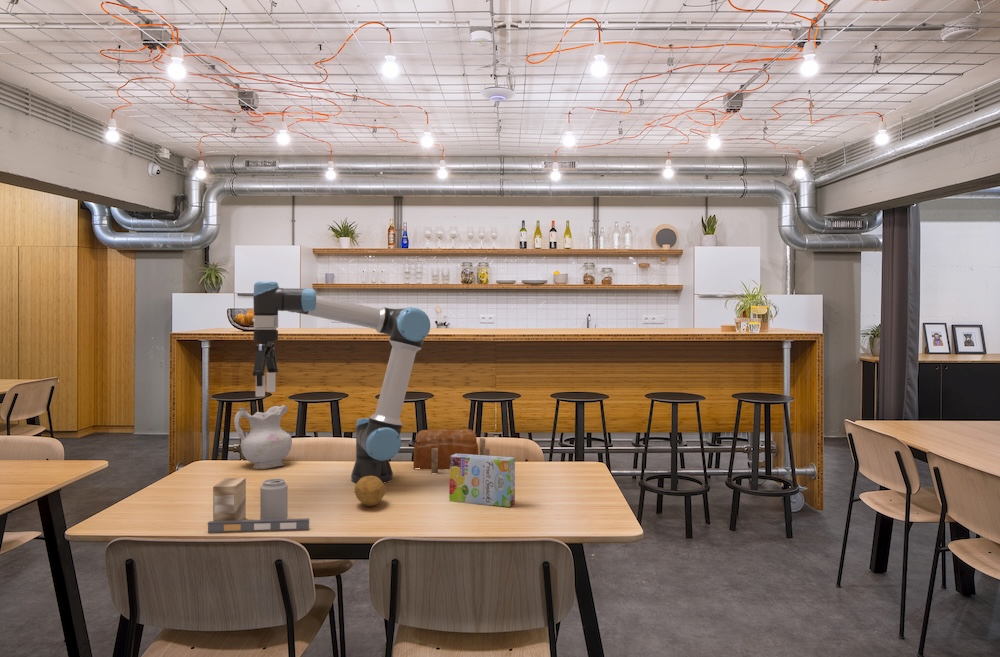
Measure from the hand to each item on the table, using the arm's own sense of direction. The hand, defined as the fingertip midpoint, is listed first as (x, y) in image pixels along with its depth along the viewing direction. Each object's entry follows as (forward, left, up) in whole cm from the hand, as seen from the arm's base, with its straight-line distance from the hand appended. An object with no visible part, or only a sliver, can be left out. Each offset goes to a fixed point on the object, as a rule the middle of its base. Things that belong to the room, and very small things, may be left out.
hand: (265, 394), depth 207 cm
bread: (-60, -43, -35) cm, 81 cm away
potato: (-34, +9, -35) cm, 50 cm away
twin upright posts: (-65, -41, -35) cm, 84 cm away
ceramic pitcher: (+13, -49, -35) cm, 62 cm away
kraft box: (+4, +24, -35) cm, 42 cm away
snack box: (-70, +9, -35) cm, 79 cm away
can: (-8, +23, -35) cm, 43 cm away
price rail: (-6, +31, -35) cm, 47 cm away
